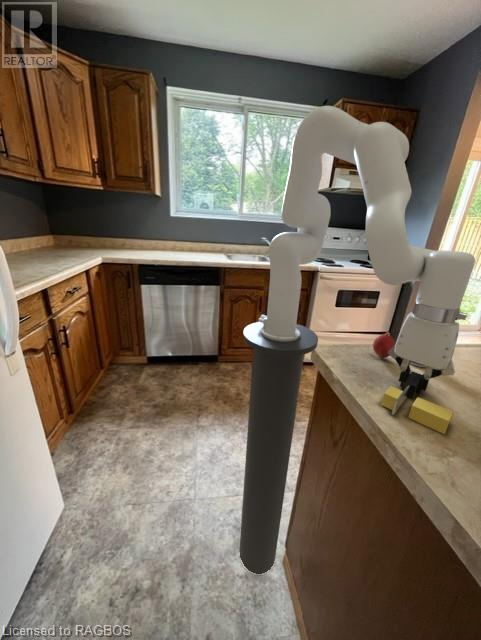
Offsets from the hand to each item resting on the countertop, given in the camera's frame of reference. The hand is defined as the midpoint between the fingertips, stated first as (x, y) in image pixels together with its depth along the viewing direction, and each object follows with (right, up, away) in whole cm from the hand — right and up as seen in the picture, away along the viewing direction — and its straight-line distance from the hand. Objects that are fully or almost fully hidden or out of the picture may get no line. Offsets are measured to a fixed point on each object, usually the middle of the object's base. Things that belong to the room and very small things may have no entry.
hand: (411, 387), depth 62 cm
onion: (+1, +5, +15) cm, 16 cm away
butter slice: (-7, -2, -5) cm, 9 cm away
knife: (-2, -1, -2) cm, 4 cm away
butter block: (-3, -4, -9) cm, 11 cm away
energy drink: (+10, +3, +13) cm, 17 cm away
